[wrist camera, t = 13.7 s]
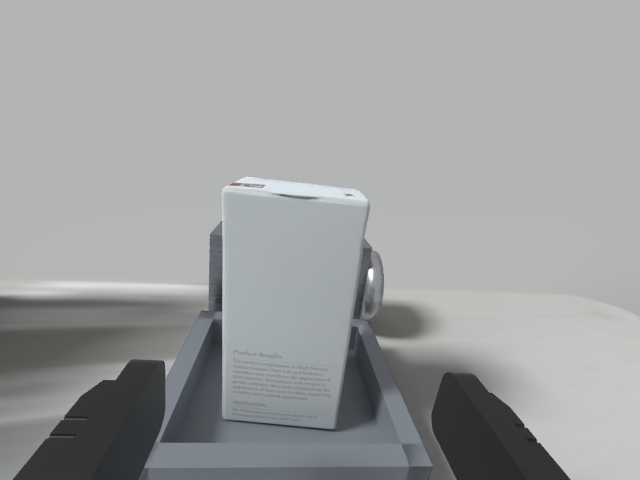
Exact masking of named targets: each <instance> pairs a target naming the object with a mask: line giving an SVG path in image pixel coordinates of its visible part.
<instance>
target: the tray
mask: <svg viewBox="0 0 640 480" xmlns="http://www.w3.org/2000/svg"><path fill="white" fill-rule="evenodd" d="M222 355H223V350H222V312H218V311H201V313H200V315H199V317H198V319H197V321H196V323H195V324H194V326H193V328H192V330H191V332H190V334H189V336H188V338H187V340H186V342H185V343H184V345H183V347H182V349H181V351H180V353H179V355H178V357H177V359H176V361H175V362H174V364H173V366H172V368H171V370H170V372H169V374H168V376H167V378H166V380H165V399H166V407H165V415H164V420H163V424H162V427H161V430H160V433H159V435H158V437H157V439H156V442H155V444H154V446H153V448H152V451H151V453H150V455H149V457H148V460H147V462H146V464H145V466H144V469H143V471H142V473H141V475H140V478H139V480H429V477H430V474H431V471H432V468H433V465H432V463H431V461H430V459H429V456H428V454H427V452H426V450H425V447H424V445H423V443H422V441H421V438H420V436H419V434H418V432H417V429H416V427H415V425H414V423H413V420H412V418H411V416H410V414H409V411H408V409H407V407H406V405H405V402H404V400H403V398H402V396H401V393H400V391H399V389H398V387H397V384H396V382H395V380H394V378H393V375H392V373H391V371H390V369H389V366H388V364H387V362H386V360H385V357H384V355H383V353H382V351H381V348H380V346H379V344H378V342H377V339H376V337H375V335H374V333H373V330H372V328H371V326H370V324H369V321H368V320H363V319H353V321H352V328H351V334H350V340H349V347H348V353H347V360H346V366H345V373H344V379H343V385H342V392H341V398H340V404H339V411H338V418H337V426H336V428H335V429H322V428H311V427H301V426H290V425H280V424H269V423H259V422H247V421H236V420H226V419H224V418H223V416H222V385H223V377H222Z"/></svg>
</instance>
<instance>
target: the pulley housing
mask: <svg viewBox="0 0 640 480" xmlns="http://www.w3.org/2000/svg"><path fill="white" fill-rule="evenodd" d="M209 268H210V269H209V311H218V312H222V272H223V237H222V221H221V222H220V224H219V225H218V226H217V227H216V228H215V229H214V230H213V231H212V233H211V234H210V263H209ZM383 289H384V274H383V266H382V261H381V258H380V255H379V254H378V252H376V251H372V247H371V246H370V245H369V243H368V242H367V241H366V240H365V238H364V243H363V252H362V260H361V267H360V275H359V282H358V288H357V295H356V302H355V308H354V315H353V319H363V320H368V321H373V320H375V319H376V317H377V316H378V314H379V311H380V308H381V304H382V298H383Z"/></svg>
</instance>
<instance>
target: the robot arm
mask: <svg viewBox="0 0 640 480" xmlns="http://www.w3.org/2000/svg"><path fill="white" fill-rule="evenodd" d="M165 407H166V399H165V363H164V361H159V360H137V359H133V360H131V361H130V362H129V363H128V364H127V365H126V367H125V368H124V369H123V371H122V372H121V374H120V375H119V376H118V378H117V379H116V380H103V381H102V382H100V383H99V384H97V385H96V386H95V387H93V388H92V389H90V390H89V391H88V392H86V393H85V394H83V395H82V396H81V397H80V398H79V399H78V401H77V402H76V403H75V404H74V405H73V407H72V408H71V409H70V410H69V412H68V413H67V414H66V415H65V418H64V420H61V421H60V423H59V424H58V425H57V426H56V427H55V429H54V430H53V431H52V432H51V434H50V437H49V438H48V439H46V440H45V441H44V442H43V443H42V445H41V446H40V447H39V448H38V449H37V451H36V452H35V453H34V454H33V456H32V457H31V458H30V459H29V460H28V462H27V463H26V464H25V465H24V467H23V468H22V469H21V470H20V471H19V473H18V474H17V475H16V476H15V478H14V479H13V480H139V478H140V475H141V473H142V471H143V469H144V466H145V464H146V462H147V460H148V457H149V455H150V453H151V451H152V448H153V446H154V444H155V442H156V439H157V437H158V435H159V433H160V430H161V427H162V424H163V420H164V415H165ZM432 427H433V431H434V434H435V437H436V439H437V441H438V443H439V445H440V447H441V449H442V451H443V453H444V455H445V457H446V459H447V461H448V463H449V465H450V467H451V469H452V471H453V473H454V475H455V477H456V479H457V480H570V479H569V477H568V476H567V475H566V474H565V473H564V471H563V470H562V469H561V468H560V467H559V465H558V464H557V463H556V462H555V461H554V459H553V458H552V457H551V456H550V455H549V453H548V452H547V451H546V450H545V449H544V447H543V446H542V445H541V444H540V443H537V439H536V438H535V437H534V436H533V434H532V433H531V432H530V431H529V430H528V428H525V427H524V424H523V422H522V421H521V420H520V419H519V418H518V416H517V415H516V414H515V413H514V412H513V410H512V409H511V408H510V407H509V406H508V405H506V404H505V403H504V402H502V401H501V400H500V399H499V398H497V397H496V396H495V395H494V394H492V393H489V392H488V391H487V390H486V388H485V387H484V386H483V385H482V383H481V382H480V381H479V380H478V378H477V377H476V376H475V375H473V374H470V373H445V374H444V376H443V378H442V381H441V384H440V387H439V391H438V394H437V397H436V401H435V404H434V407H433V410H432Z"/></svg>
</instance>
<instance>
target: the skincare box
mask: <svg viewBox="0 0 640 480" xmlns="http://www.w3.org/2000/svg"><path fill="white" fill-rule="evenodd" d="M369 210H370V205H369V201H368V200H367V199H366V197H364V196H363V194H362V193H361V192H359V191H358V190H355V189H347V188H339V187H331V186H322V185H315V184H306V183H297V182H288V181H278V180H270V179H260V178H253V177H245V178H242V179H241V180H239V181H236V182H234V183H232V184H230V185H228V186H226V187H225V188H224V189H223V190H222V237H223V272H222V350H223V355H222V377H223V385H222V416H223V418H224V419H226V420H236V421H247V422H259V423H269V424H280V425H290V426H301V427H311V428H322V429H335V428H336V426H337V418H338V411H339V404H340V398H341V392H342V385H343V379H344V373H345V366H346V360H347V353H348V347H349V340H350V334H351V328H352V321H353V315H354V308H355V302H356V295H357V288H358V282H359V275H360V267H361V260H362V252H363V243H364V236H365V231H366V225H367V220H368V215H369Z"/></svg>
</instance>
